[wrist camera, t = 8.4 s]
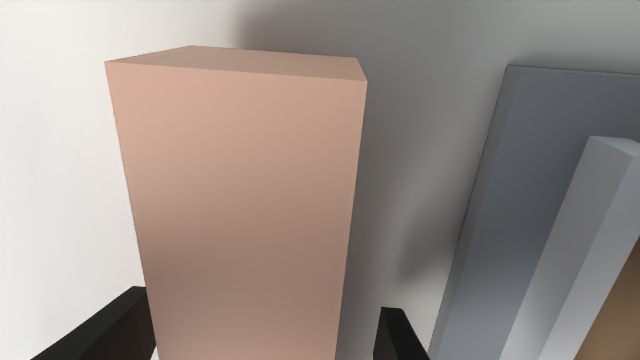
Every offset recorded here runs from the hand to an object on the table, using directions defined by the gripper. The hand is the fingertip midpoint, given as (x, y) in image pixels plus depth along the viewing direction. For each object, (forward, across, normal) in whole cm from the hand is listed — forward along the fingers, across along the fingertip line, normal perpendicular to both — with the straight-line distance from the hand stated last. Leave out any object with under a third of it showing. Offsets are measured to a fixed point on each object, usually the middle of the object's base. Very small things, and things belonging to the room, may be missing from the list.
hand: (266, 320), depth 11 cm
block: (+2, 0, 0) cm, 2 cm away
